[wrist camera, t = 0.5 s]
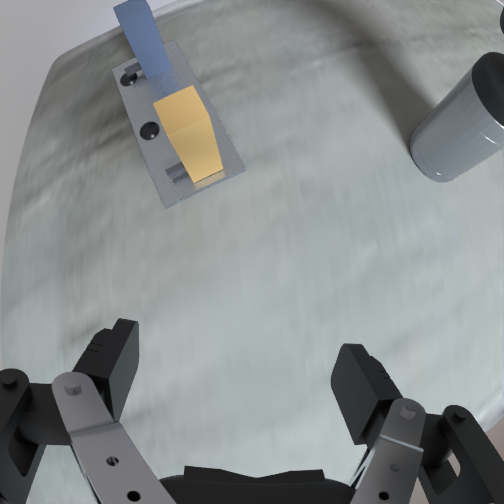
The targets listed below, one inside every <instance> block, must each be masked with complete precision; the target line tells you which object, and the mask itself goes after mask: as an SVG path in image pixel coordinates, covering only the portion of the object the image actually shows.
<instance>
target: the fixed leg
mask: <svg viewBox="0 0 504 504" xmlns="http://www.w3.org/2000/svg"><path fill="white" fill-rule="evenodd" d="M113 9H114V11H115V13H116V16H117V18H118V21H119V23H120V25H121V27H122V29H123V31H124V33H125V35H126V38H127V40H128V42H129V44H130V46H131V48H132V50H133V52H134V54H135V56H136V58H137V60H138V62H137V63H135V64H133V65H131V66H129V67H127V68H125V69H124V70H125V72H126V74H127V76H130V75H132V74H134V73H136V72H138V71H140V70H143V72H144V74H145V76H146V78H147V79H149V78H151V77H153V76H156V75H158V74H160V73H162V72H164V71H166V70H169V69H171V68H172V67H171V64H170V62H169V59H168V56H167V53H166V51H165V48H164V45H163V42H162V40H161V37H160V34H159V31H158V29H157V26H156V23H155V20H154V18H153V15H152V12H151V9H150V7H149V5H148V3H147V2H146V0H128V1H126V2H124V3H122V4H120V5H117V6H115V7H114V8H113Z"/></svg>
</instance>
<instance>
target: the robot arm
mask: <svg viewBox="0 0 504 504" xmlns="http://www.w3.org/2000/svg"><path fill="white" fill-rule="evenodd" d="M500 26H501V30H502V32H503V34H504V8H503V10H502V13H501V17H500ZM503 148H504V54H501V53H498V52H489V53H486V54H484V55H483V56H482V57H481V58H480V59H479V60H478V61H477V62H476V63H475V64H474V66H473V67H472V68H471V69H470V70H469V71H468V72H467V73H466V74H465V76H464V77H463V78H462V79H461V80H460V81H459V82H458V84H457V85H456V86H455V87H454V88H453V89H452V90H451V91H450V92H449V93H448V95H447V96H446V97H445V98H444V99H443V100H442V101H441V102H440V103H439V104H438V105H437V106H436V108H435V109H434V110H433V111H432V112H431V113H430V114H429V115H428V116H427V117H426V118H425V119H424V120H423V121H422V122H421V124H420V125H419V126H418V127H417V128H416V129H415V130H414V131H413V133H412V135H411V137H410V151H411V155H412V157H413V159H414V161H415V163H416V165H417V166H418V167H419V169H420V170H421V171H422V172H423V173H424V174H425V175H426V176H428V177H429V178H431V179H433V180H435V181H438V182H448V181H451V180H453V179H454V178H456V177H458V176H459V175H461V174H463V173H464V172H466V171H468V170H469V169H471V168H473V167H474V166H476V165H478V164H479V163H481V162H482V161H484V160H486V159H487V158H489V157H490V156H492V155H493V154H495V153H497V152H498V151H500V150H501V149H503ZM138 363H139V324H138V321H133V320H127V319H121V318H119V319H118V320H117V322H116V324H115V325H114V327H113V329H112V330H111V329H106V328H104V329H103V330H101V331H100V332H98V333H96V334H95V335H94V337H93V338H92V340H91V342H90V344H89V345H88V346H87V348H86V350H85V351H84V353H83V354H82V356H81V357H80V359H79V361H78V362H77V364H76V365H75V367H74V369H73V370H72V372H66V373H63V374H61V375H59V376H57V377H56V378H55V379H54V381H53V383H52V384H39V383H29V379H28V377H27V375H26V374H25V373H24V372H23V371H21V370H18V369H4V370H2V371H0V504H25V503H26V500H27V497H28V494H29V491H30V488H31V485H32V483H33V480H34V477H35V474H36V471H37V469H38V466H39V463H40V461H41V458H42V455H43V453H44V450H45V448H46V445H70V448H71V450H72V452H73V455H74V457H75V459H76V462H77V464H78V466H79V468H80V470H81V472H82V474H83V477H84V479H85V481H86V483H87V485H88V487H89V489H90V491H91V493H92V495H93V497H94V499H95V501H96V503H97V504H409V501H410V498H411V495H412V491H413V489H414V485H415V482H416V478H417V476H418V478H419V481H420V483H421V485H422V487H423V490H424V492H425V495H426V497H427V499H428V502H429V504H504V461H503V460H502V458H501V457H500V455H499V454H498V452H497V450H496V449H495V447H494V446H493V444H492V443H491V441H490V440H489V439H488V437H487V436H486V434H485V433H484V431H483V430H482V428H481V427H480V425H479V424H478V422H477V421H476V420H475V418H474V417H473V415H472V414H471V413H470V412H469V411H468V410H467V409H465V408H464V407H461V406H458V405H450V406H447V407H446V408H445V410H444V411H443V413H442V415H436V414H428V413H426V412H425V409H424V408H423V407H422V406H421V405H420V404H419V403H418V402H416V401H414V400H411V399H408V398H403V396H402V395H401V393H400V392H399V390H398V389H397V387H396V385H395V384H394V382H393V381H392V379H390V376H389V375H388V373H387V372H386V370H385V369H384V367H383V366H382V364H381V363H380V362H379V361H378V360H376V359H375V358H374V357H373V356H369V354H368V353H367V351H366V349H365V348H364V346H363V345H362V344H347V343H345V344H343V345H342V346H341V349H340V352H339V355H338V357H337V360H336V363H335V366H334V369H333V372H332V375H331V388H332V390H333V393H334V395H335V398H336V400H337V403H338V405H339V407H340V410H341V412H342V415H343V417H344V420H345V422H346V425H347V427H348V430H349V432H350V435H351V437H352V440H353V442H354V445H361V444H366V445H367V449H366V451H365V452H364V454H363V456H362V458H361V460H360V462H359V464H358V466H357V468H356V470H355V472H354V474H353V476H352V478H351V480H350V482H349V484H348V485H346V484H344V483H342V482H338V481H335V480H331V479H326V478H325V477H324V473H323V470H322V469H320V470H302V471H288V472H284V473H279V474H275V475H270V476H265V477H260V478H254V477H249V476H245V475H241V474H237V473H233V472H229V471H225V470H221V469H213V468H202V467H193V466H185V468H184V475H176V476H170V477H166V478H162V479H159V480H158V479H157V477H156V476H155V475H154V473H153V472H152V470H151V469H150V467H149V466H148V465H147V463H146V462H145V460H144V459H143V457H142V456H141V454H140V453H139V451H138V450H137V448H136V447H135V445H134V444H133V442H132V440H131V439H130V437H129V436H128V434H127V432H126V431H125V429H124V427H123V426H122V424H121V423H120V422H119V419H120V416H121V413H122V411H123V408H124V405H125V402H126V399H127V396H128V393H129V391H130V388H131V385H132V382H133V379H134V377H135V374H136V371H137V368H138ZM452 453H454V454H455V456H456V458H457V460H458V462H459V464H460V474H459V476H458V477H457V476H456V474H455V472H454V470H453V468H452V466H451V464H450V462H449V461H448V459H449V457H450V456H451V455H452Z"/></svg>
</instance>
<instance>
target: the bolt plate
mask: <svg viewBox="0 0 504 504" xmlns="http://www.w3.org/2000/svg"><path fill="white" fill-rule="evenodd" d="M163 45H164V48H165V51H166V53H167V56H168V59H169V62H170V64H171V67H172V68H171V69H169V70H166V71H164V72H162V73H160V74H158V75H156V76H153V77H151V78H149V79H147V78H146V76H145V74H144V72H143V70H140V71H138V72H136V73H134V74H132V75H130V76H127V74H126V72H125V70H124V69H125V68H127V67H129V66H131V65H133V64H135V63H137V62H138V60H137V58H136V57H135V58H133V59H131V60H129V61H127V62H125V63H123V64H121V65H119V66H117V67H115V68H113V69H112V72H113V74H114V77H115V80H116V83H117V86H118V89H119V92H120V94H121V97H122V100H123V103H124V106H125V108H126V111H127V114H128V116H129V119H130V122H131V124H132V127H133V130H134V132H135V135H136V138H137V140H138V143H139V145H140V148H141V151H142V153H143V156H144V158H145V161H146V163H147V166H148V168H149V171H150V173H151V176H152V178H153V181H154V183H155V185H156V188H157V190H158V193H159V195H160V197H161V200H162V202H163V205H164V207H165V208H166V209H167V208H169V207H171V206H173V205H175V204H177V203H179V202H181V201H183V200H185V199H187V198H189V197H191V196H193V195H195V194H197V193H199V192H201V191H203V190H205V189H207V188H209V187H211V186H214V185H216V184H218V183H220V182H222V181H224V180H226V179H228V178H231V177H233V176H235V175H237V174H239V173H241V172H244V171H246V170H245V166H244V164H243V162H242V160H241V159H240V157H239V155H238V153H237V151H236V149H235V147H234V145H233V144H232V142H231V140H230V138H229V136H228V134H227V132H226V130H225V129H224V127H223V125H222V123H221V121H220V119H219V118H218V116H217V114H216V112H215V110H214V108H213V107H212V105H211V103H210V101H209V99H208V97H207V96H206V94H205V92H204V90H203V88H202V87H201V85H200V83H199V81H198V79H197V78H196V76H195V74H194V72H193V70H192V69H191V67H190V65H189V63H188V62H187V60H186V58H185V56H184V55H183V53H182V51H181V49H180V48H179V46H178V44H177V42H176V41H175V39H174V40H172V41H170V42H167V43H165V44H163ZM191 85H193V86H194V88H195V90H196V92H197V94H198V95H199V97H200V99H201V101H202V103H203V105H204V107H205V108H206V110H207V112H208V114H209V116H210V120H211V124H212V128H213V131H214V135H215V139H216V143H217V147H218V151H219V154H220V158H221V162H222V166H223V169H222V170H220V171H218V172H216V173H213V174H211V175H209V176H207V177H205V178H203V179H201V180H199V181H197V182H195V183H193V181H192V179H191V177H190V176H189V174H188V172H187V170H186V171H184V172H182V173H180V174H178V175H176V176H174V177H172V178H169V177H168V176H167V173H166V171H165V170H166V169H168V168H170V167H172V166H174V165H176V164H178V163H180V162H182V161H181V160H180V158H179V156H178V154H177V152H176V151H175V149H174V147H173V145H172V144H171V142H170V140H169V138H168V136H167V134H166V132H165V130H164V128H163V125H162V123H161V121H160V118H159V116H158V114H157V112H156V109H155V107H154V105H153V103H155V102H157V101H159V100H161V99H163V98H165V97H167V96H169V95H171V94H174V93H176V92H178V91H180V90H182V89H185V88H187V87H189V86H191Z"/></svg>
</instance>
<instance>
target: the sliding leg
mask: <svg viewBox="0 0 504 504" xmlns="http://www.w3.org/2000/svg"><path fill="white" fill-rule="evenodd" d="M153 105H154V107H155V109H156V112H157V114H158V116H159V118H160V121H161V123H162V125H163V128H164V130H165V132H166V134H167V136H168V138H169V140H170V142H171V144H172V145H173V147H174V149H175V151H176V152H177V154H178V156H179V158H180V160H181V161H182V162H180V163H178V164H176V165H174V166H172V167H170V168H168V169H166V170H165V171H166V173H167V176H168V177H169V178H172V177H174V176H176V175H178V174H180V173H182V172H184V171H186V170H187V172H188V174H189V176H190V177H191V179H192V181H193V183H195V182H197V181H199V180H201V179H203V178H205V177H207V176H209V175H211V174H213V173H216V172H218V171H220V170H222V169H223V166H222V162H221V158H220V154H219V151H218V147H217V143H216V139H215V135H214V131H213V128H212V124H211V120H210V116H209V114H208V112H207V110H206V108H205V107H204V105H203V103H202V101H201V99H200V97H199V95H198V94H197V92H196V90H195V88H194V86H193V85H191V86H189V87H187V88H185V89H182V90H180V91H178V92H176V93H174V94H171V95H169V96H167V97H165V98H163V99H161V100H159V101H157V102H155V103H153Z"/></svg>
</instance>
